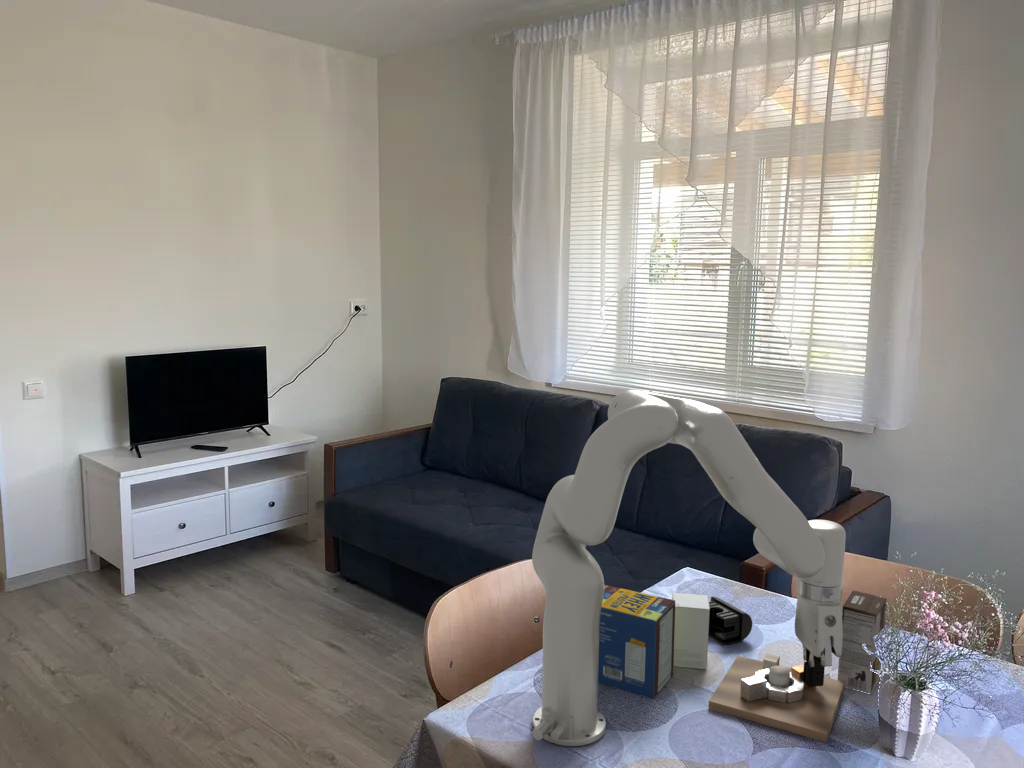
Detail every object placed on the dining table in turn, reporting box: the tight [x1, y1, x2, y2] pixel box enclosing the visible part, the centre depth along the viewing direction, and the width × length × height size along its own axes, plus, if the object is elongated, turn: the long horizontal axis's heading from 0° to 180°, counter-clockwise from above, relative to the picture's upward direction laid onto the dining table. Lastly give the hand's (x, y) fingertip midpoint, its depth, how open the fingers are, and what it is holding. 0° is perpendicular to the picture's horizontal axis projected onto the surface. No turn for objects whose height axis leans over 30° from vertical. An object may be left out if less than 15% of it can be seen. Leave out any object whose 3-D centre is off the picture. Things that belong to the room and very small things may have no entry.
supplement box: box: [671, 592, 710, 670], centre depth 160 cm, size 7×7×13 cm
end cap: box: [708, 596, 753, 647], centre depth 172 cm, size 10×7×7 cm
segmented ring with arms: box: [740, 663, 808, 703], centre depth 146 cm, size 16×8×3 cm, turn 113°
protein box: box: [598, 584, 675, 700], centre depth 153 cm, size 10×15×16 cm
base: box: [708, 652, 845, 743], centre depth 146 cm, size 20×20×6 cm
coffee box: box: [837, 590, 887, 695], centre depth 152 cm, size 9×6×16 cm
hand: (813, 683), depth 146 cm, fingers closed
